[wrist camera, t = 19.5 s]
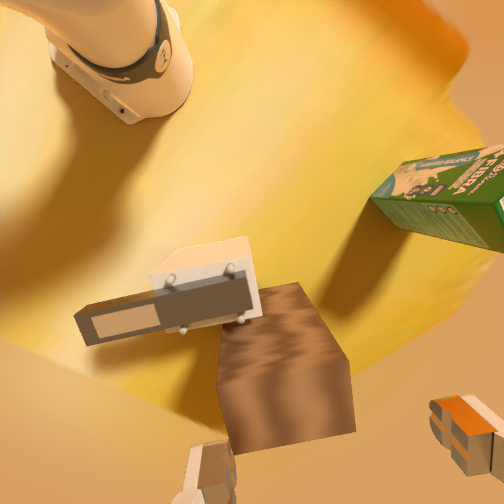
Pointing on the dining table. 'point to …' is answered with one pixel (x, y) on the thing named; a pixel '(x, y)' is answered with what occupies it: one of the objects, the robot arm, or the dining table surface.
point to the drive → (164, 308)
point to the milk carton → (449, 197)
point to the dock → (209, 274)
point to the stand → (283, 375)
